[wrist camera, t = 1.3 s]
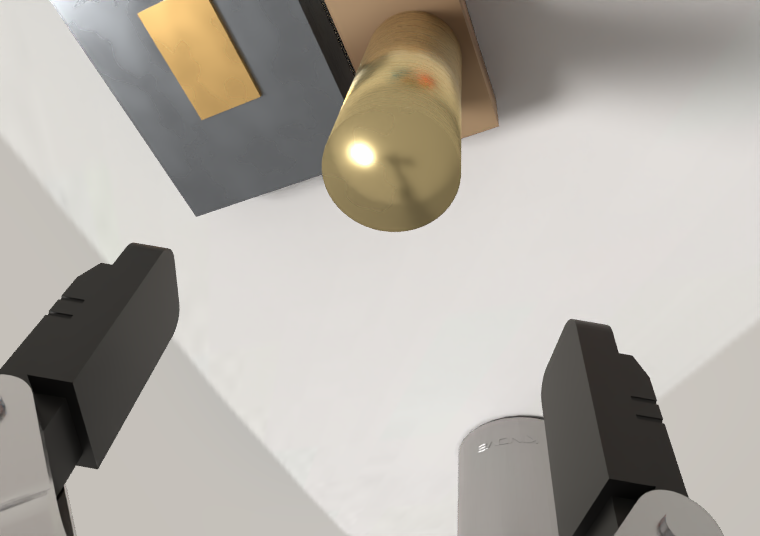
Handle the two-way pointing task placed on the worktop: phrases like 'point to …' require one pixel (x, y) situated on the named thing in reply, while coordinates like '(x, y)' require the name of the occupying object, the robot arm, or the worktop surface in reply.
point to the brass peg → (399, 127)
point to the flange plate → (220, 87)
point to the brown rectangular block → (377, 3)
